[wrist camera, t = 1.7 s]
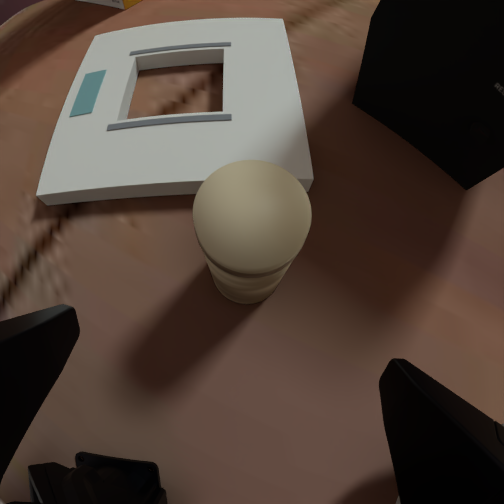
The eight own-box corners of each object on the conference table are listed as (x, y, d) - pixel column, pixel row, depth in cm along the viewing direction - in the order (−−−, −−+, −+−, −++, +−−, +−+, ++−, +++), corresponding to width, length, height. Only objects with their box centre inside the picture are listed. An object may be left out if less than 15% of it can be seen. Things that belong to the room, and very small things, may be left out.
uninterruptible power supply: (502, 75, 33) (556, -1, 14) (470, 209, 25) (614, 85, 6) (423, 17, 36) (461, -69, 17) (333, 105, 27) (397, -84, 8)
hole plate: (47, 205, 23) (35, 195, 21) (99, 47, 30) (95, 34, 28) (308, 191, 24) (314, 178, 22) (281, 31, 31) (282, 18, 29)
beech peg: (211, 305, 22) (190, 271, 12) (211, 237, 23) (193, 160, 13) (283, 303, 22) (319, 267, 12) (279, 235, 23) (305, 158, 14)
